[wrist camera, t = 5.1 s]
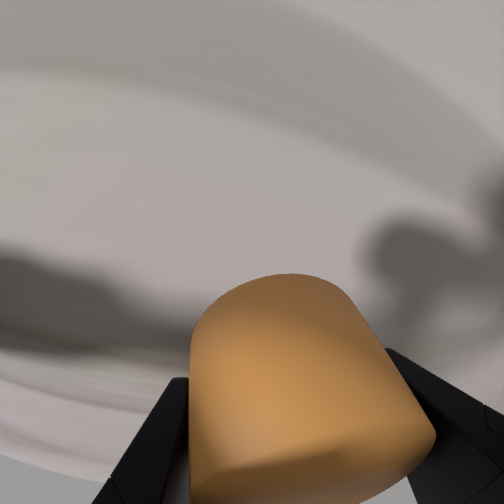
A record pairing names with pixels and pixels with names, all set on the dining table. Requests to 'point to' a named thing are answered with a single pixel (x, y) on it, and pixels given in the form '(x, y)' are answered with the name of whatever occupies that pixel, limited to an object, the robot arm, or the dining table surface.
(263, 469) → the orange cylinder
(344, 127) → the dining table surface
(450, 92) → the dining table surface
